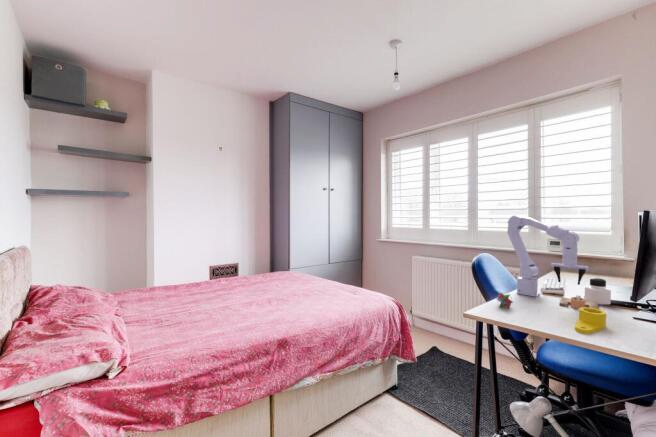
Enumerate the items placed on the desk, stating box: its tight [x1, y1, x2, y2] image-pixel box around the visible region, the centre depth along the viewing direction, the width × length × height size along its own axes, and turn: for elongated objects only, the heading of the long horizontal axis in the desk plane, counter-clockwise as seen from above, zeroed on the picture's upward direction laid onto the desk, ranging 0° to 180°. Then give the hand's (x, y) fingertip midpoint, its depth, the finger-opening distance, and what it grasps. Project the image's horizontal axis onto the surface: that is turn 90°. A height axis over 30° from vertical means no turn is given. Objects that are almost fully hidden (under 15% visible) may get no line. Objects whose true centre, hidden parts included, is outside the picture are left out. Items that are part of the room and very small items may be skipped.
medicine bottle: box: [584, 277, 612, 305], centre depth 152 cm, size 7×7×12 cm
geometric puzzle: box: [496, 292, 514, 309], centre depth 146 cm, size 7×7×8 cm
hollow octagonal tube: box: [570, 296, 586, 310], centre depth 144 cm, size 5×5×4 cm
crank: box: [574, 307, 607, 335], centre depth 121 cm, size 18×8×6 cm, turn 125°
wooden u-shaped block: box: [559, 296, 599, 309], centre depth 148 cm, size 14×12×1 cm
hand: (568, 283), depth 152 cm, fingers open, 7 cm apart
